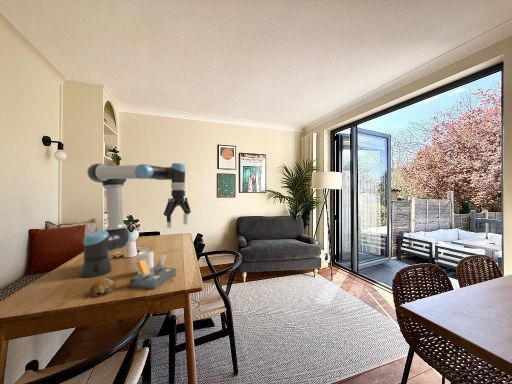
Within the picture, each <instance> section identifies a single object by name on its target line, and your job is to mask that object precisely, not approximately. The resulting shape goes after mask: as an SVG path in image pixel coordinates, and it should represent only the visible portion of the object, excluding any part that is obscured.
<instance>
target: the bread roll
mask: <svg viewBox="0 0 512 384" xmlns="http://www.w3.org/2000/svg"><path fill="white" fill-rule="evenodd" d="M115 288H116V283H115V282H114V281H113V280H112V279H110V278H106V277H105V278H104V277H103V278H99V279H98V280H96V281H95V282H94V283H93V284H92V285H91V287H90V289H89V295H90V296H91V297H95V298H96V297H102V296H107V295H109V294H111V293H113V292H114V291H115V290H116V289H115Z"/></svg>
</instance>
